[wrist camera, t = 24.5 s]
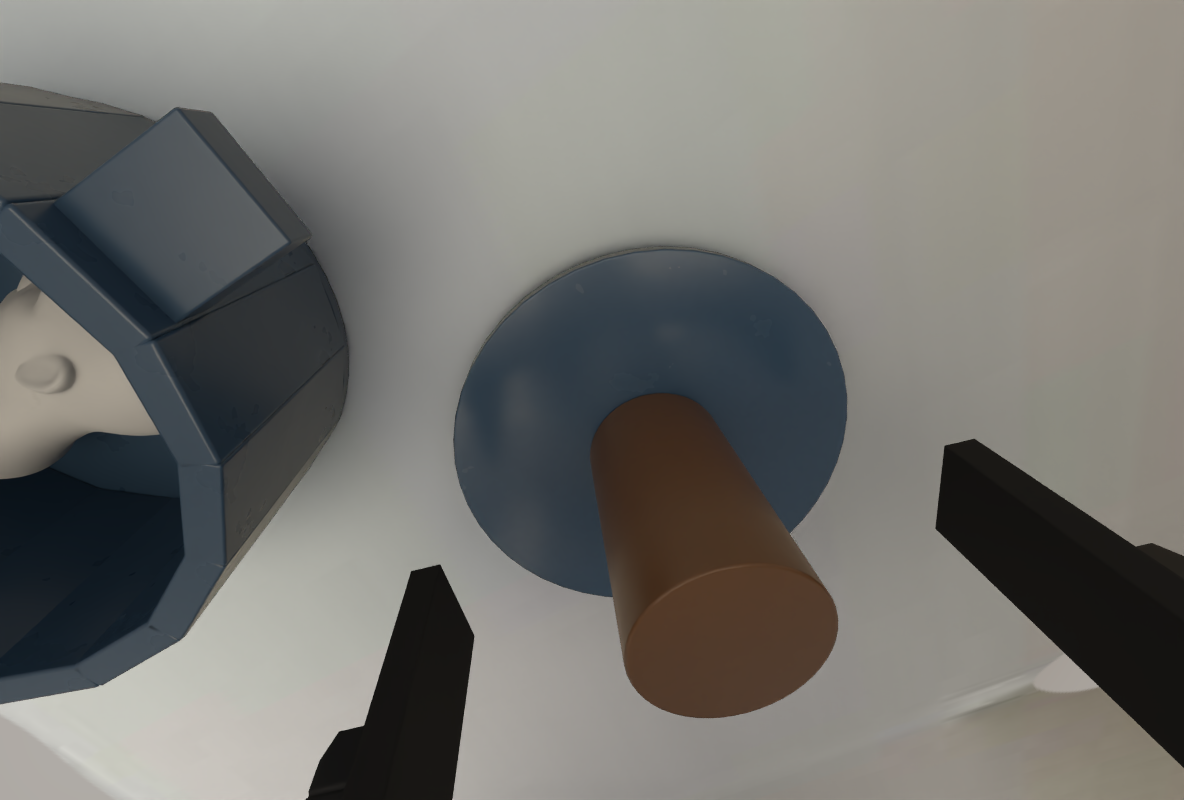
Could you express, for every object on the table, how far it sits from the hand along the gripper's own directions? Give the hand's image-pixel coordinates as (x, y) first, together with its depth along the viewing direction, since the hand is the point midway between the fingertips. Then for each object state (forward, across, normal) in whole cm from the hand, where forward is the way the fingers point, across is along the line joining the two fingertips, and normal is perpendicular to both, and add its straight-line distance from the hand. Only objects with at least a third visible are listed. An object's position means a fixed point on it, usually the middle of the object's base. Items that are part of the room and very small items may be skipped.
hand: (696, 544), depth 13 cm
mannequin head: (+6, +15, -8) cm, 18 cm away
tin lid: (+6, 0, 0) cm, 6 cm away
